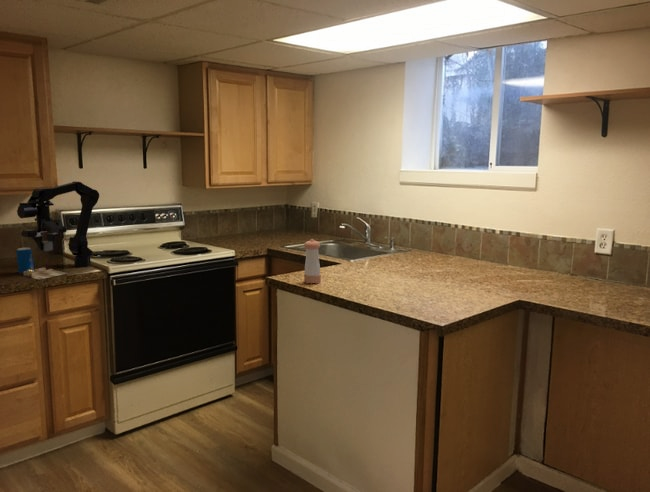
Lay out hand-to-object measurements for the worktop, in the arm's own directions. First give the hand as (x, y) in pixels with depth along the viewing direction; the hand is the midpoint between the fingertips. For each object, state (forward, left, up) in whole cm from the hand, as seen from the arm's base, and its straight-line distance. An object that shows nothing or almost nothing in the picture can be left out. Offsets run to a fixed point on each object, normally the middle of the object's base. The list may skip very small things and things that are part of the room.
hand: (46, 249), depth 255 cm
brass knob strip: (+8, -2, -11) cm, 14 cm away
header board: (+2, +1, -12) cm, 12 cm away
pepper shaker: (-55, +110, -12) cm, 124 cm away
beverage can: (+3, -13, -12) cm, 18 cm away
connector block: (0, 0, 0) cm, 0 cm away
